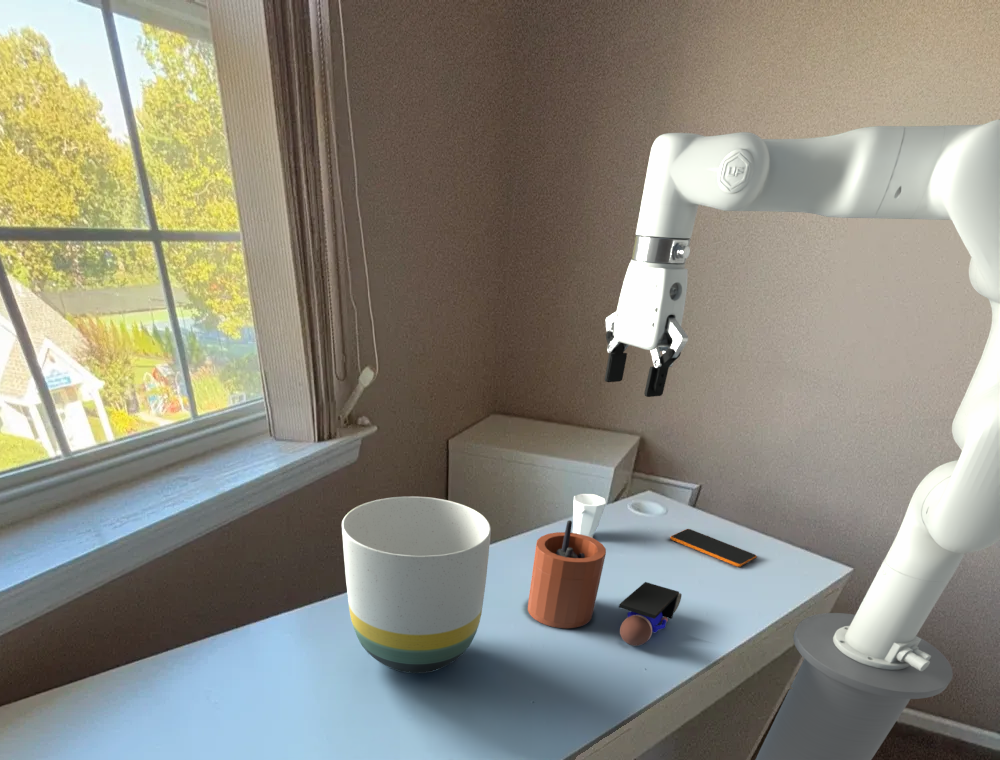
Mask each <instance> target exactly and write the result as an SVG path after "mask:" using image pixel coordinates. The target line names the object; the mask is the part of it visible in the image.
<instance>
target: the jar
mask: <svg viewBox="0 0 1000 760" xmlns="http://www.w3.org/2000/svg"><path fill="white" fill-rule="evenodd" d="M564 535H565V531H563V532H562V531H561V532H560V531H557V532H556V531H555V532H551V533H546V534H544V535H542V536H540V537H539V538H538V539H537V540H536V544H535V550H534V557H533V565H532V573H531V580H530V587H529V593H528V600H527V601H528V602H527V612H528V614H529V615H530V617H531V618H532V619H534V620H535V621H536V622H539V623H540V624H542V625H545V626H548V627H551V628H557V629H575V628H576V629H577V628H580V627H583V626H586V625H587V624H588V623H589V622H590V621H591V619H592V618H593V615H594V614H593V613H594V611H595V605H596V600H597V596H598V591H599V586H600V583H601V579H602V573H603V569H604V563H605V558H606V554H607V552H606V550H607V548H606V547H605V546H604V544H603V543H602V542H600V541H598V540H597V539H595V538H594V537H593V538H591V537H588V536H585V535H581V534H576V533H572V532H571V534H570V541H569V547H568V548H572V549H573V552H574V553H576V555H579V554H580V553H583V554H584V555H585V558H568V557H563V556H559V555H556V551H557V550H558V549H562V545H563V540H564Z"/></svg>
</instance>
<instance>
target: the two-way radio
mask: <svg viewBox="0 0 1000 760" xmlns="http://www.w3.org/2000/svg"><path fill="white" fill-rule="evenodd" d="M572 525H573V520H567V522H566V526H565V529H564V530H565V531H564V532H565V535H564V540H563V545H562V549H558V550H557V551H556V555H559V556H563V557H568V558H585V555H584V554H583V553H580V554H579V555H576V553H574V552H573V549H572V548H568V547H569V541H570V534H571V533H572Z"/></svg>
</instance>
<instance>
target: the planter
mask: <svg viewBox="0 0 1000 760" xmlns="http://www.w3.org/2000/svg"><path fill="white" fill-rule="evenodd" d="M491 532H492V528H491V524H490V522H489V521H488V519H487V518H486V517H485V516H484V515H483V514H482V513H480V512H479V511H477V510H476V509H474V508H471V507H469V506H467V505H465V504H462V503H459V502H455V501H452V500H447V499H443V498H436V497H428V496H394V497H385V498H381V499H380V498H379V499H376V500H371V501H368V502H365V503H362V504H360V505H357V506H356V507H354V508H352V509H351V510H350V511H348V512H347V514H345V516H344V517H343V519H342V521H341V535H342V536H341V537H342V549H343V561H344V574H345V583H346V593H347V601H348V611H349V615H350V620H351V623H352V627H353V630H354V632H355V635H356V637H357V639H358V641H359V643H360V645H361V646H362V647H363V649H364V650H365V651H366V652H367V653H368V655H370V656H371V657H372V658H373V659H374V660H376V661H377V662H378V663H380V664H382V665H383V666H386V667H387V668H389V669H392V670H395V671H398V672H402V673H406V674H407V673H408V674H426V673H431V672H435V671H438V670H441V669H443V668H445V667H447V666H450V665H451V664H452V663H454V662H456V661H457V660H458V659H459V658H460V657H462V656H463V655H464V654H465V652H467V650H468V649H469V647H470V646H471V644H472V642H473V641H474V638H475V636H476V634H477V631H478V629H479V625H480V621H481V618H482V613H483V605H484V599H485V591H486V584H487V576H488V575H487V574H488V564H489V556H490V547H491V546H490V545H491V534H492V533H491Z"/></svg>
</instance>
